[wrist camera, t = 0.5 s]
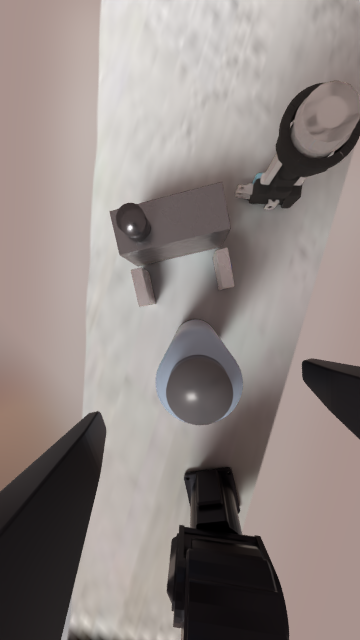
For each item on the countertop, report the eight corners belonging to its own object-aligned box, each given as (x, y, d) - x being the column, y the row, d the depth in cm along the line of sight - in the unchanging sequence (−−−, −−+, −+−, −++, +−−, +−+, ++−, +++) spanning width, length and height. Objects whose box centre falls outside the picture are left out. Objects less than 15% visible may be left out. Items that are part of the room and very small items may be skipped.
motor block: (228, 288, 23) (246, 282, 16) (146, 305, 24) (124, 308, 16) (214, 213, 23) (226, 165, 15) (130, 233, 24) (98, 200, 16)
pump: (219, 355, 24) (256, 431, 10) (179, 362, 25) (162, 445, 11) (211, 315, 24) (239, 337, 10) (171, 323, 24) (141, 355, 10)
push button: (232, 219, 23) (262, 156, 13) (236, 170, 22) (272, 64, 12) (290, 221, 22) (368, 158, 12) (296, 172, 22) (383, 64, 12)
